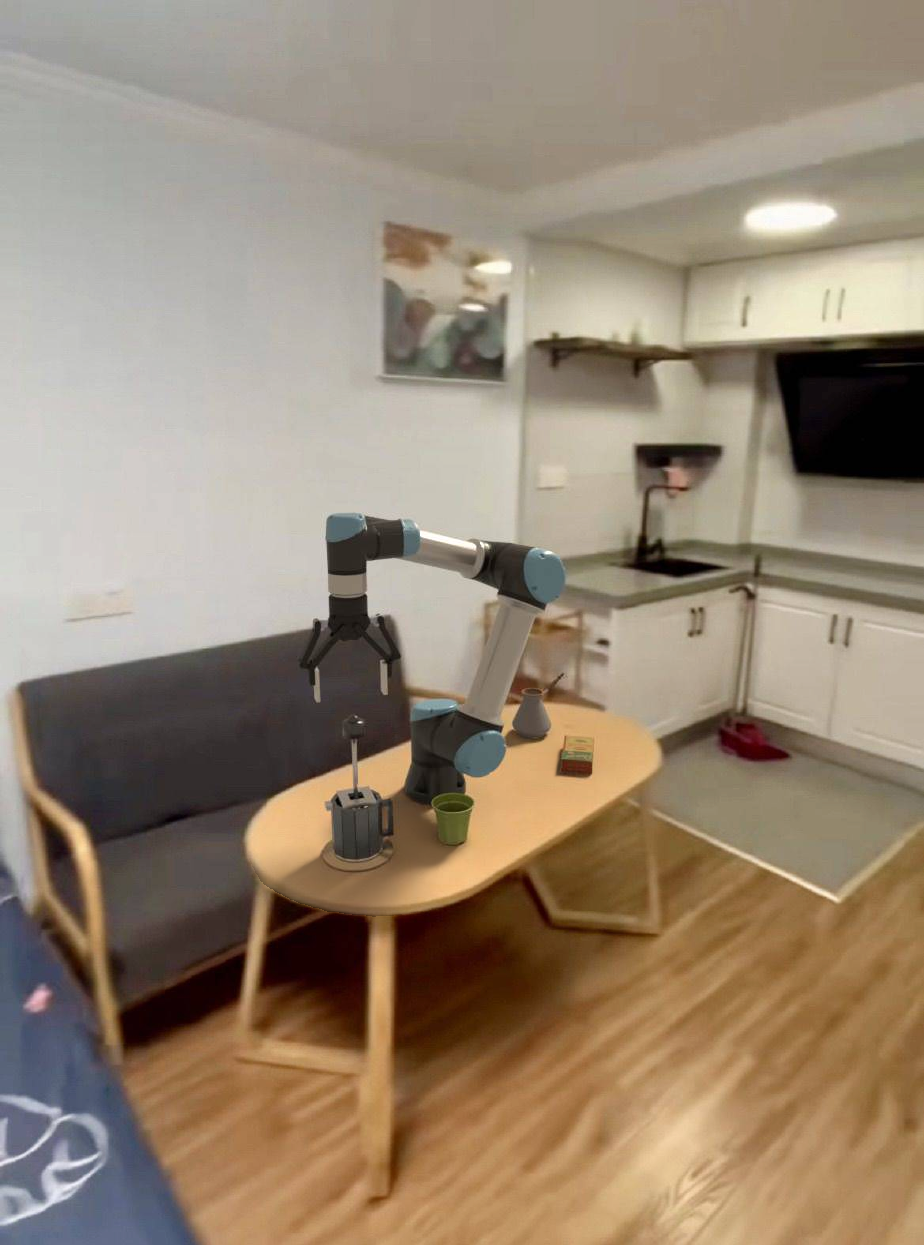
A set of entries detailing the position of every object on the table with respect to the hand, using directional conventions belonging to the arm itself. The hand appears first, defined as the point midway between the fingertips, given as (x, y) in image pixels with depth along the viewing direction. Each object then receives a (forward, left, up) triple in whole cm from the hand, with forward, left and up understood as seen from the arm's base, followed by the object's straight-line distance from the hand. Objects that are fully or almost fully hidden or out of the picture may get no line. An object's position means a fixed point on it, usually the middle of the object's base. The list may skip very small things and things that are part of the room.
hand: (351, 696), depth 160 cm
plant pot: (-21, +1, -36) cm, 41 cm away
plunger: (0, 0, -25) cm, 25 cm away
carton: (-66, -26, -36) cm, 79 cm away
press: (0, 0, -35) cm, 35 cm away
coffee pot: (-66, -50, -36) cm, 90 cm away
